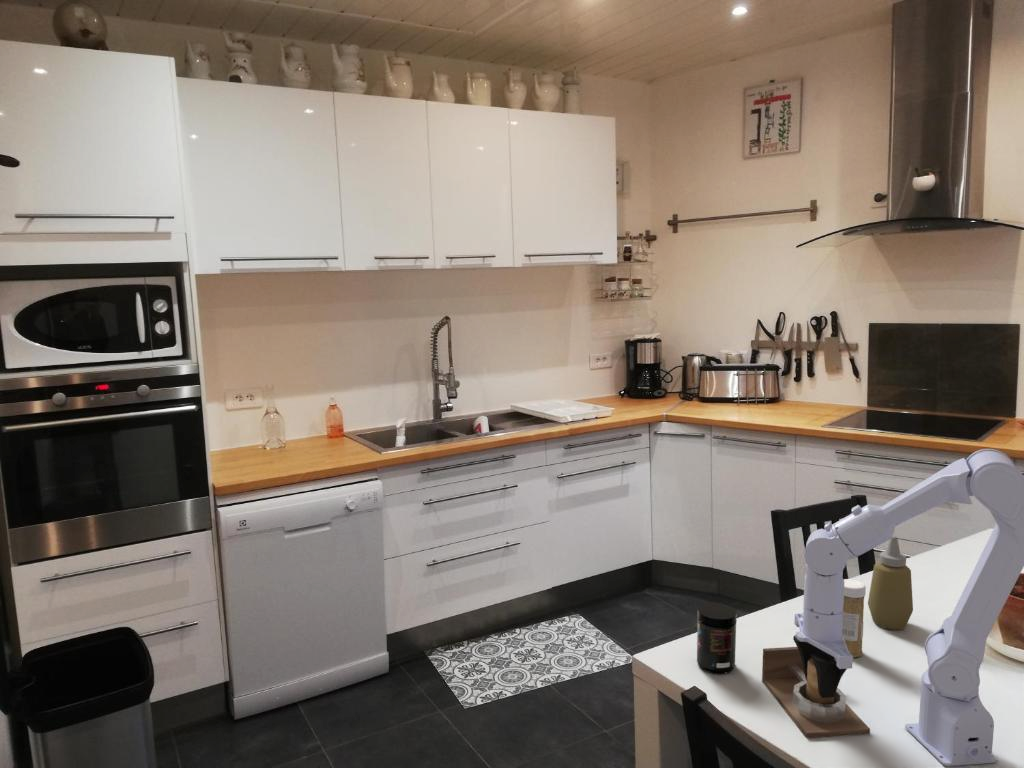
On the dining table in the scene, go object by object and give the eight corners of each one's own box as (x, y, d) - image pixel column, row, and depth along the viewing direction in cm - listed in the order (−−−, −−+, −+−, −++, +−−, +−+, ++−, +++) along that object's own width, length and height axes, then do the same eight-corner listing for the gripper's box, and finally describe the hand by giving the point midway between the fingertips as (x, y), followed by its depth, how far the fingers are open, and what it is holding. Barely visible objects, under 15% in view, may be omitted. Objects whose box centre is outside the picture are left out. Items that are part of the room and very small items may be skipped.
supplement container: (722, 654, 135) (723, 600, 134) (742, 672, 129) (744, 616, 128) (689, 659, 134) (690, 605, 132) (708, 678, 127) (709, 621, 126)
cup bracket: (869, 733, 111) (871, 696, 110) (806, 738, 110) (807, 700, 109) (817, 678, 127) (819, 645, 126) (761, 681, 126) (763, 648, 125)
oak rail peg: (838, 705, 114) (840, 669, 114) (815, 707, 114) (816, 671, 113) (824, 691, 118) (826, 656, 117) (801, 693, 118) (802, 658, 117)
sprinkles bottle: (867, 653, 135) (871, 584, 133) (853, 661, 132) (856, 590, 130) (844, 644, 138) (847, 576, 137) (830, 650, 136) (833, 581, 134)
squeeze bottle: (921, 628, 144) (927, 541, 142) (891, 636, 141) (896, 547, 139) (887, 612, 151) (891, 528, 149) (857, 619, 149) (861, 533, 146)
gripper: (778, 589, 121) (775, 666, 123) (821, 629, 107) (817, 716, 108) (819, 587, 121) (815, 664, 123) (868, 627, 107) (863, 713, 109)
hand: (819, 688), depth 116 cm, fingers closed on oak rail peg, 4 cm apart
